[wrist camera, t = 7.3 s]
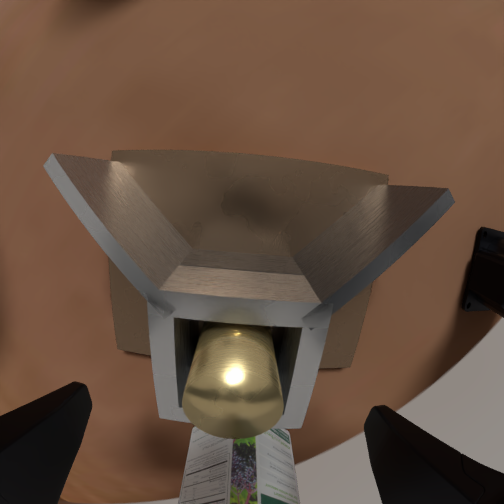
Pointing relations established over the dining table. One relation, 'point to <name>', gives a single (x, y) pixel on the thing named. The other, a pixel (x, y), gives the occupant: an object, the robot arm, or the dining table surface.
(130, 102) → the dining table surface
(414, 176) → the dining table surface
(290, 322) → the hinge
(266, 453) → the syrup box
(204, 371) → the hinge pin
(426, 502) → the robot arm
